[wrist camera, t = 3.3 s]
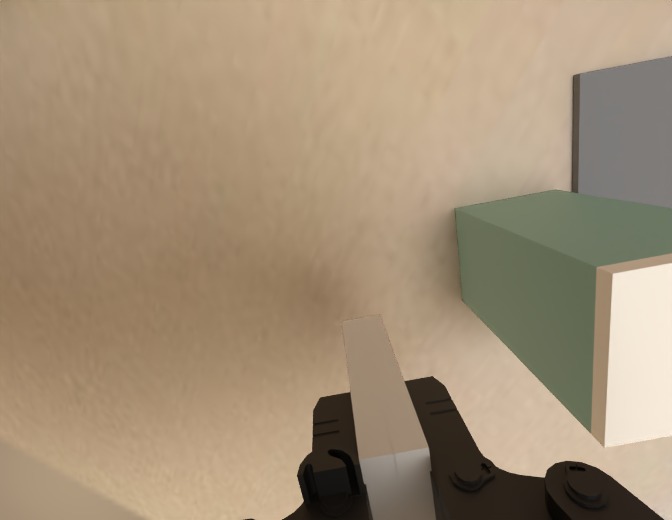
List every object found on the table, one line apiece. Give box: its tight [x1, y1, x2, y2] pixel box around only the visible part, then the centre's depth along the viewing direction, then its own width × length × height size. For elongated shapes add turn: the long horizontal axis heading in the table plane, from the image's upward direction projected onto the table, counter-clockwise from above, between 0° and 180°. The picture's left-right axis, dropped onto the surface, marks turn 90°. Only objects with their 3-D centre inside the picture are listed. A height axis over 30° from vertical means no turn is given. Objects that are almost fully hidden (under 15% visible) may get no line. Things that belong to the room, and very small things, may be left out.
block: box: [455, 190, 672, 448], centre depth 16 cm, size 6×6×12 cm
